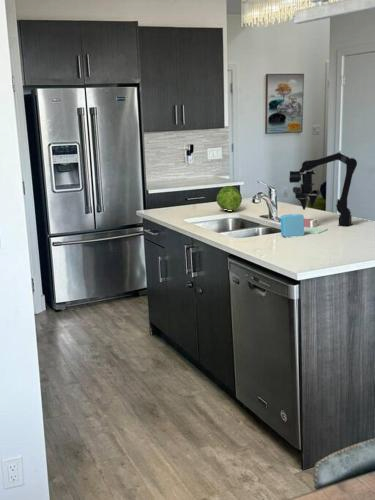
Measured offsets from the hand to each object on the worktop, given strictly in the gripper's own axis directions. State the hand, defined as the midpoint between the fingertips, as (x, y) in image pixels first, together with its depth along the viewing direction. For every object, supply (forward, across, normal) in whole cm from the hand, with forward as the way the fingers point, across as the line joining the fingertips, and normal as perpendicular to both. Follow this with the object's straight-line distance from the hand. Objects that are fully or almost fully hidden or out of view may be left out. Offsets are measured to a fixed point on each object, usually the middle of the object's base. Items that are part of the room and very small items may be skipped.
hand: (308, 208), depth 356 cm
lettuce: (+11, -30, -82) cm, 88 cm away
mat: (+11, +12, +9) cm, 19 cm away
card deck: (+11, 0, 0) cm, 11 cm away
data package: (+11, +28, +6) cm, 31 cm away
